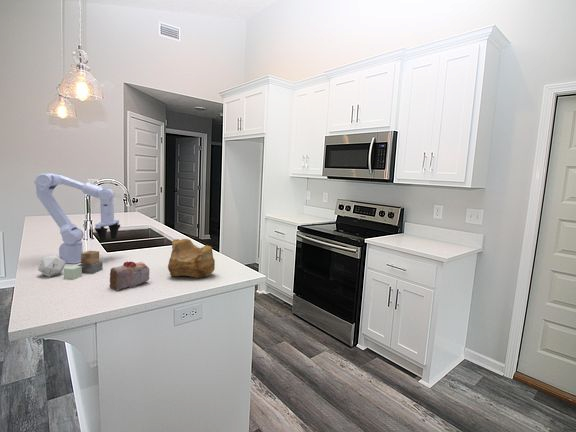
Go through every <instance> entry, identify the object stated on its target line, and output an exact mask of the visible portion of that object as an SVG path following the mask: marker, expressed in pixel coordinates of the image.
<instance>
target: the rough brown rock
mask: <svg viewBox="0 0 576 432" xmlns="http://www.w3.org/2000/svg"><path fill="white" fill-rule="evenodd" d="M171 242H172V243H171V246H172V247H171V249H172V250H171V253H170V258H169V259H168V265H167V269H168V272H169V273H170V276H171V277H180V276H187V277H190V278H194V279H201V278H202V277H207V276H209V275H211V274H212V273H214V271H215V266H216V264H215V258H214V252H213V247H212V246H211V245H204V246H202V247H199V246H197V245H195V244H194V242H192V241H191V239H189V238H182V239H178V238H177V239H176V238H175V239H173V240H171Z"/></svg>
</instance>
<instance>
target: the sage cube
mask: <svg viewBox="0 0 576 432" xmlns="http://www.w3.org/2000/svg"><path fill="white" fill-rule="evenodd" d="M62 271H63V279H64V280H73V281H75V280H76V279H78V278H81V277H83V273H82V266H77V265H70V266H67V267H64V268H63V270H62Z"/></svg>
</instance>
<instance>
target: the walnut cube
mask: <svg viewBox="0 0 576 432" xmlns="http://www.w3.org/2000/svg"><path fill="white" fill-rule="evenodd" d="M100 261H101V260H100V251H97V250H86V251H83V253H81V262H80V264H83V265H94V264H96V263H99V262H100Z"/></svg>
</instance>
